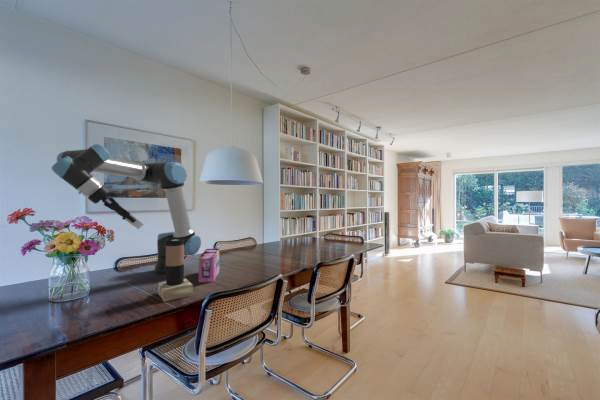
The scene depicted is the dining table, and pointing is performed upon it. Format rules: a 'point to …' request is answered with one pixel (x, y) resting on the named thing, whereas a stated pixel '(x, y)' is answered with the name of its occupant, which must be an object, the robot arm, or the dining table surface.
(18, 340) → the dining table surface
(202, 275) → the gum box
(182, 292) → the pedestal
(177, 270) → the travel mug
